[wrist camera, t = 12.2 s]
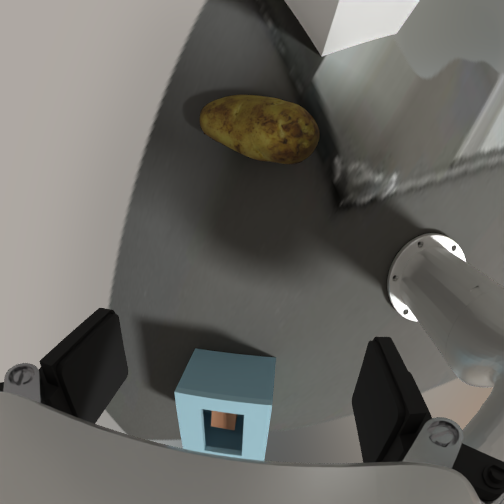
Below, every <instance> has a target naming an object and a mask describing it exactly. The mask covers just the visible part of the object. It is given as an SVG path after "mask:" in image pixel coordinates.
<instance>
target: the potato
mask: <svg viewBox="0 0 504 504" xmlns="http://www.w3.org/2000/svg"><path fill="white" fill-rule="evenodd" d="M200 126H201V128H202V130H203V132H204V134H206V135H208V136H209V137H211V138H212V139H213V140H215V141H217V142H220V143H222V144H223V145H225V146H227V147H229V148H231V149H233V150H234V151H237V152H239V153H240V154H243V155H245V156H247V157H250V158H252V159H256V160H259V161H269V162H277V163H282V164H295V163H299V162H302V161H303V160H305V159H306V158H307V157H309V156H310V155H311V154H312V153H313V151H314V150H315V148H316V146H317V144H318V141H319V135H320V134H319V128H318V126H317V123H316V122H315V120H314V119H313V116H311V115H310V114H309V113H308V112H307V111H306V110H305V109H304V108H302V107H301V106H299V105H297V104H294V103H291V102H287V101H283V100H281V99H278V98H271V97H264V96H257V95H232V96H227V97H224V98H220V99H217V100H215V101H212V102H210V103H208V104H207V105H206V106H204V108H203V109H202V111H201V113H200Z"/></svg>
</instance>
